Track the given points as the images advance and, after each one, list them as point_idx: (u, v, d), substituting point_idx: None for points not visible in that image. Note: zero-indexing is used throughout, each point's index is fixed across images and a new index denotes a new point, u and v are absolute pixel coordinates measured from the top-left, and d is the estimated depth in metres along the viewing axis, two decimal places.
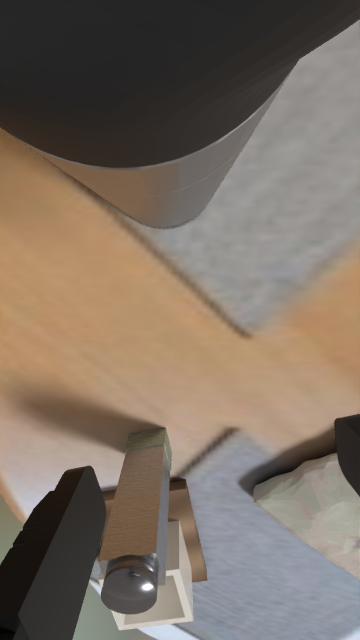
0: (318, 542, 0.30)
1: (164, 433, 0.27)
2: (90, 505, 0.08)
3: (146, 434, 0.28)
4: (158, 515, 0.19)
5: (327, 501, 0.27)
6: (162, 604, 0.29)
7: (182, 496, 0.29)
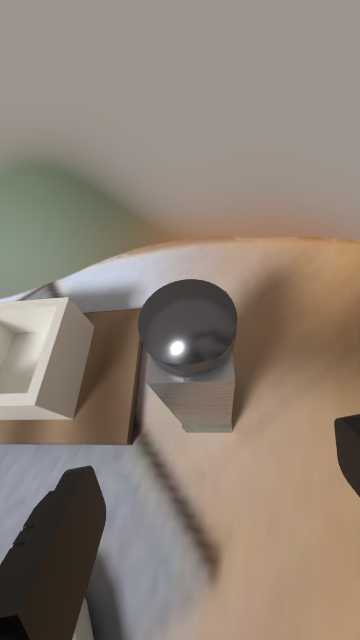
0: None
1: (231, 429, 0.18)
2: (90, 506, 0.08)
3: None
4: (231, 398, 0.11)
5: None
6: None
7: (114, 434, 0.19)
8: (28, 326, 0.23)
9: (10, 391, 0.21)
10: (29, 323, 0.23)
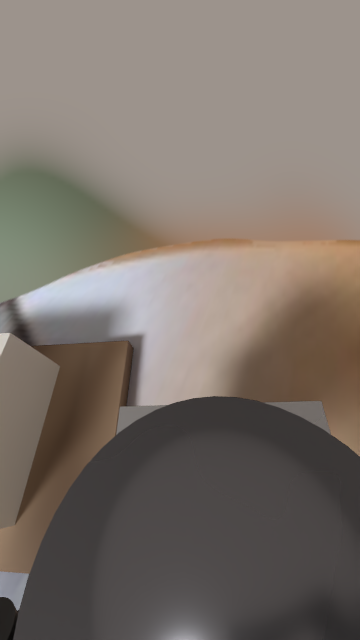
0: None
1: None
2: None
3: None
4: None
5: None
6: None
7: None
8: None
9: None
10: None
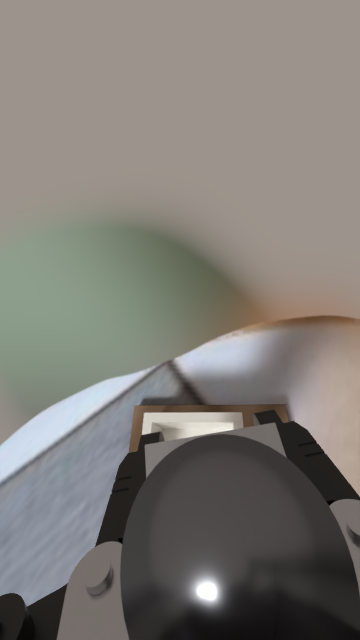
0: None
1: None
2: None
3: None
4: None
5: None
6: None
7: None
8: (183, 427, 0.24)
9: None
10: (187, 426, 0.23)
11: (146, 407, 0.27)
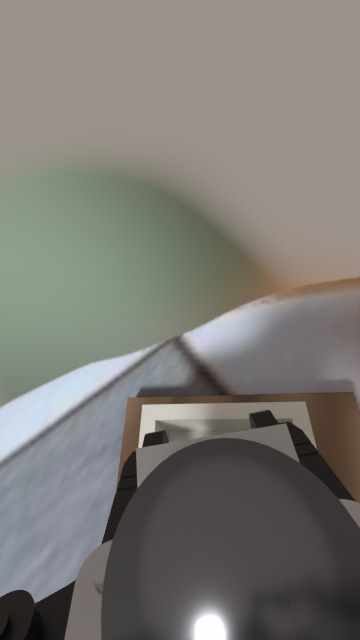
0: None
1: None
2: None
3: None
4: None
5: None
6: None
7: None
8: (203, 427, 0.15)
9: None
10: (210, 426, 0.15)
11: (145, 400, 0.19)
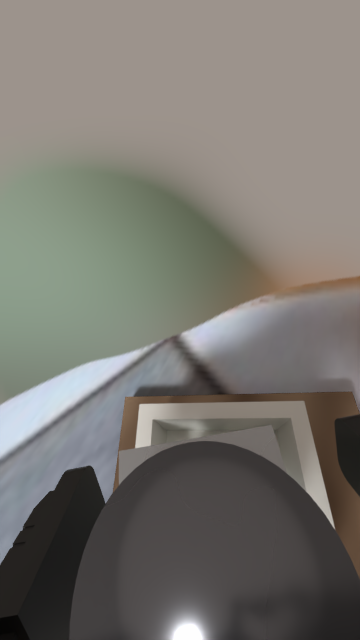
0: None
1: None
2: (91, 505, 0.08)
3: None
4: None
5: None
6: None
7: None
8: (201, 427, 0.15)
9: None
10: (208, 425, 0.15)
11: (143, 399, 0.19)
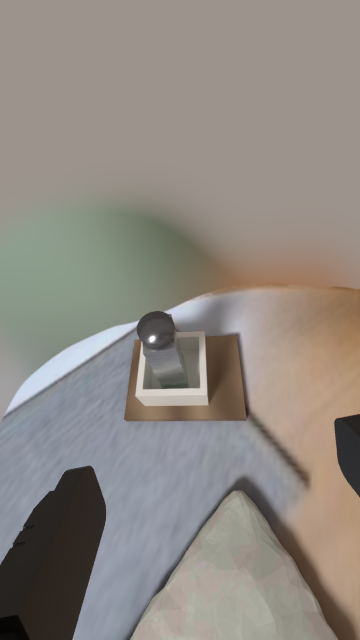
0: (185, 588, 0.23)
1: (188, 384, 0.33)
2: (91, 505, 0.08)
3: None
4: (178, 358, 0.26)
5: (268, 591, 0.22)
6: (146, 372, 0.33)
7: (237, 413, 0.32)
8: None
9: None
10: None
11: None
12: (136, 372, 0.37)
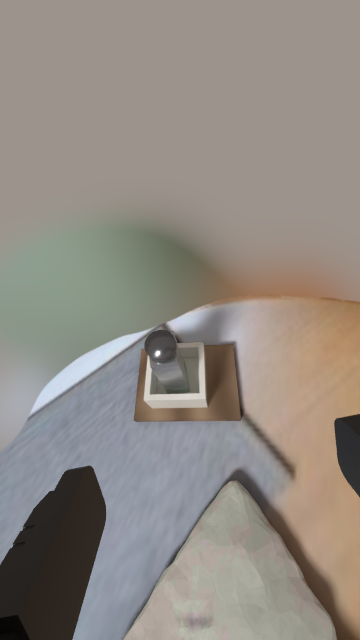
0: (190, 562, 0.28)
1: (189, 389, 0.38)
2: (90, 506, 0.08)
3: (187, 377, 0.39)
4: (180, 369, 0.30)
5: (258, 561, 0.26)
6: (153, 379, 0.37)
7: (232, 414, 0.36)
8: None
9: None
10: None
11: None
12: (143, 378, 0.41)
